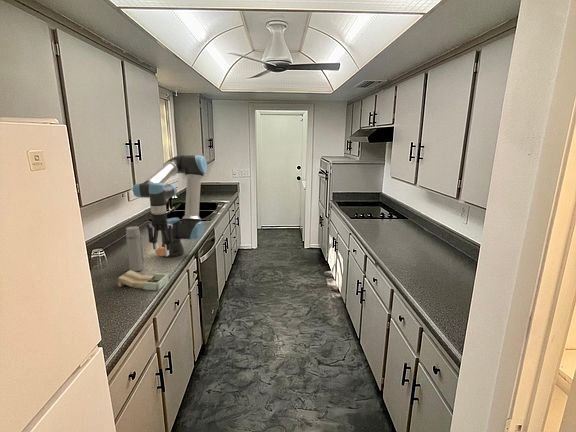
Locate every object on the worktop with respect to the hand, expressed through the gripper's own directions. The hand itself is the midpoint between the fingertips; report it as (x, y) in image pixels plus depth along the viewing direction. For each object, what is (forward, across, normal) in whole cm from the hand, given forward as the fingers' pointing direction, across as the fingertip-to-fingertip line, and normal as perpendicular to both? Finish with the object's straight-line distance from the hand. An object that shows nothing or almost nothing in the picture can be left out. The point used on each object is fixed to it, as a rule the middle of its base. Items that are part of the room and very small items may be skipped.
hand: (162, 255), depth 173 cm
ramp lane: (+13, -11, -9) cm, 19 cm away
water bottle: (+13, -19, +8) cm, 25 cm away
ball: (0, 0, 0) cm, 1 cm away
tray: (+13, 0, -9) cm, 16 cm away
